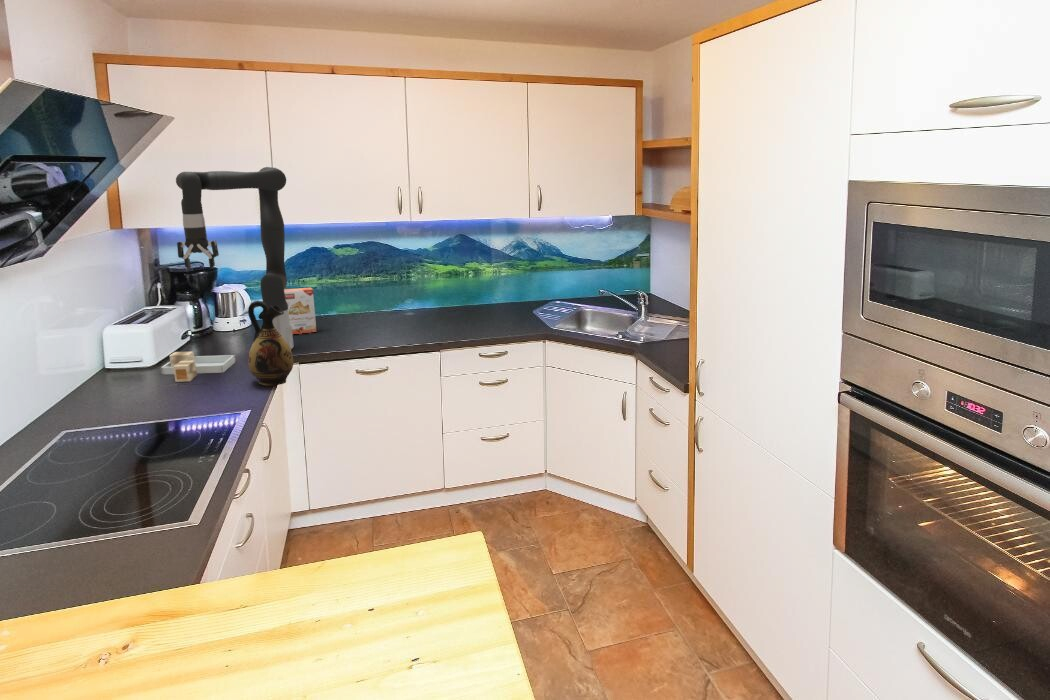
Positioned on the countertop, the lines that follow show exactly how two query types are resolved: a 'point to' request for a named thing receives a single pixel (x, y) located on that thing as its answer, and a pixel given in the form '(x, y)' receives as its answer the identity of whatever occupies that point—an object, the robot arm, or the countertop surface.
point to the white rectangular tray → (206, 364)
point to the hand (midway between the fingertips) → (200, 268)
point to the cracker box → (301, 310)
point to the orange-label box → (184, 371)
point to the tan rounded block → (181, 357)
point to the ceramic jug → (268, 348)
